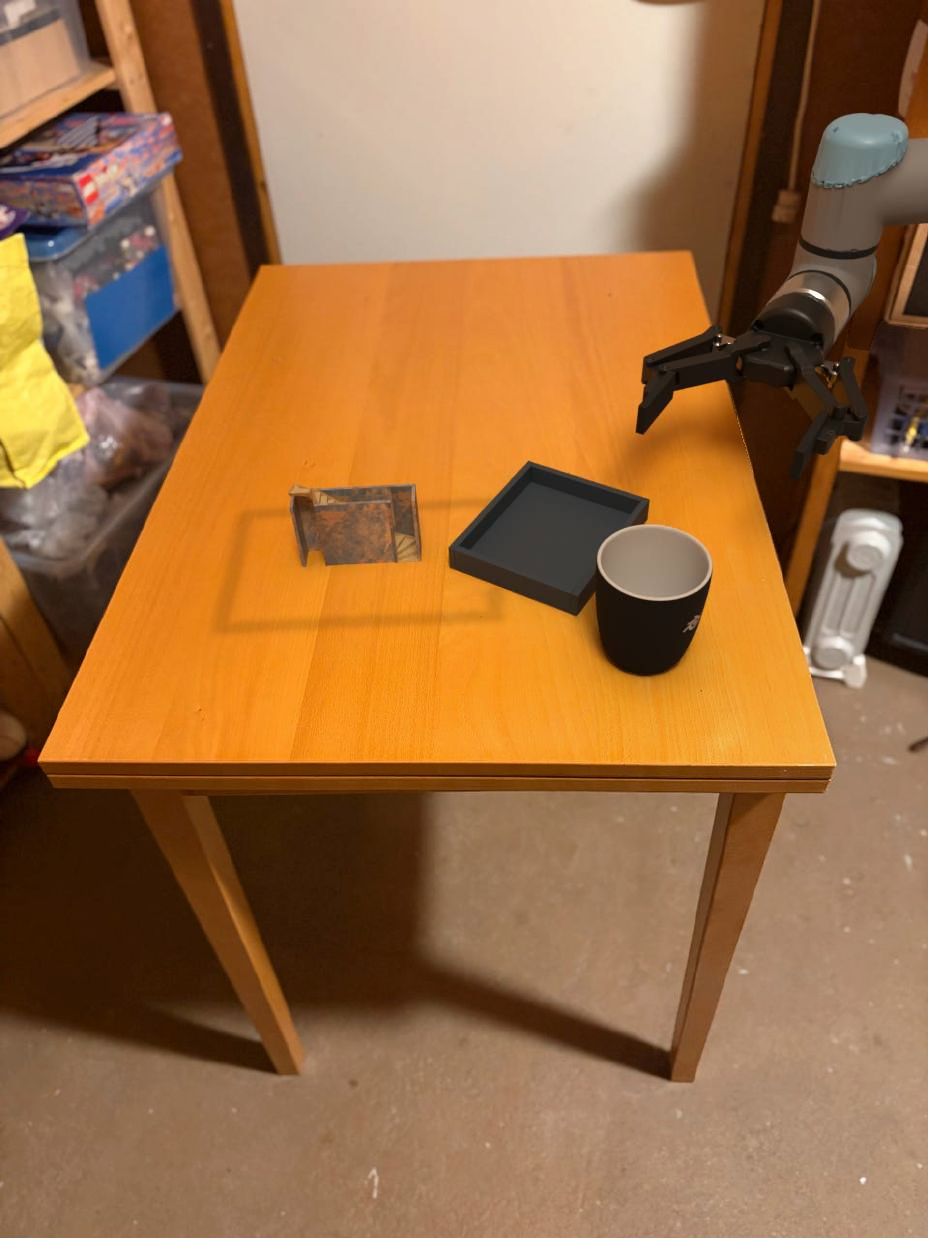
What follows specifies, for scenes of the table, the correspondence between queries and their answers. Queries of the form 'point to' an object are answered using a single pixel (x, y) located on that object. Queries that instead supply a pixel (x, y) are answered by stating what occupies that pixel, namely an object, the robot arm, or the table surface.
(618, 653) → the mug
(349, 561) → the architectural model on board
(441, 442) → the table surface
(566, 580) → the tray
